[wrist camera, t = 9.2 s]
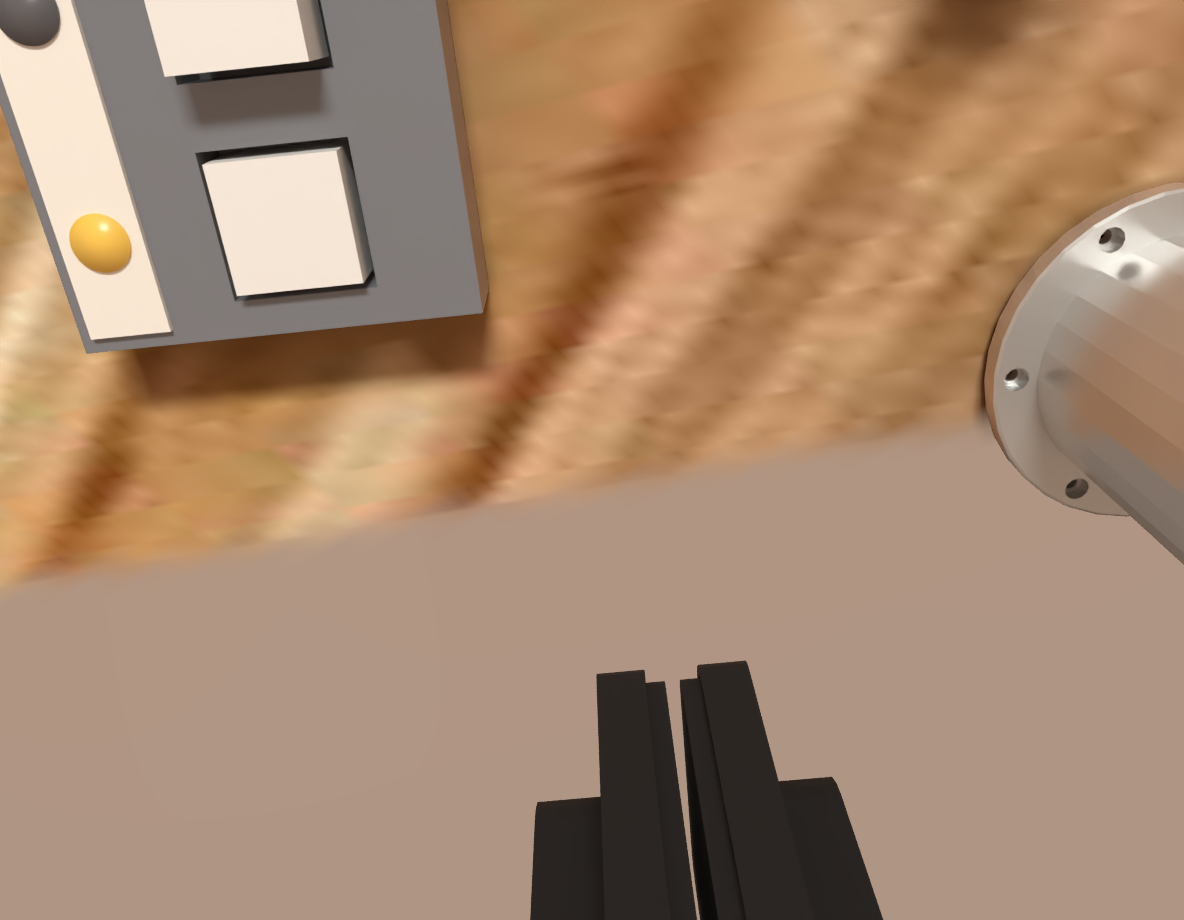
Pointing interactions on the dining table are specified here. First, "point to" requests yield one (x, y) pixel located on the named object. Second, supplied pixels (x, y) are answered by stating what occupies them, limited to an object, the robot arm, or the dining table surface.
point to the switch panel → (229, 124)
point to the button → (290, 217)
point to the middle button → (235, 33)
